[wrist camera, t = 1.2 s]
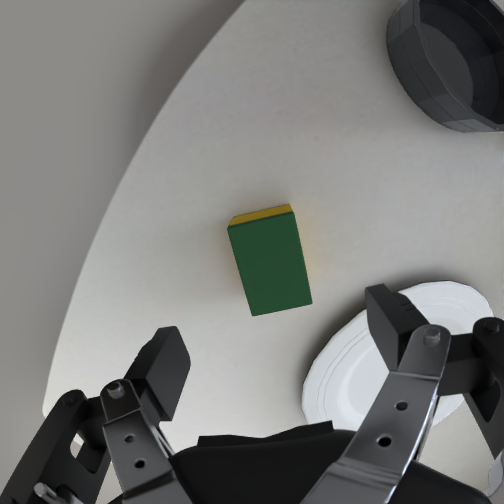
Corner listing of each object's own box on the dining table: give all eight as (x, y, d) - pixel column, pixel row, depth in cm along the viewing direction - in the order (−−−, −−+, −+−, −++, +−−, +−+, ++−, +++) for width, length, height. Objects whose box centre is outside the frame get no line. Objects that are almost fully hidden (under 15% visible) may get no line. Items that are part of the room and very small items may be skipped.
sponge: (233, 216, 21) (226, 228, 17) (289, 203, 20) (293, 212, 17) (254, 293, 23) (252, 316, 19) (306, 282, 22) (312, 304, 19)
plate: (265, 421, 27) (265, 435, 25) (369, 235, 21) (378, 242, 19) (413, 440, 28) (417, 451, 26) (513, 307, 22) (523, 315, 20)
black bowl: (364, -4, 15) (385, -34, 10) (473, 9, 13) (503, -7, 9) (411, 137, 18) (446, 135, 13) (511, 129, 17) (548, 130, 12)
